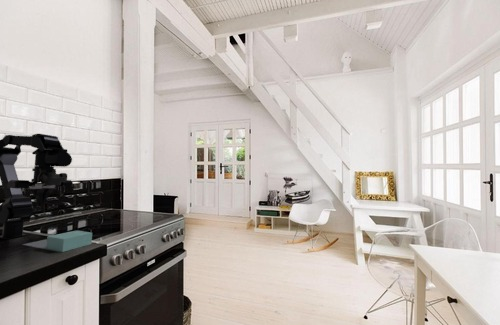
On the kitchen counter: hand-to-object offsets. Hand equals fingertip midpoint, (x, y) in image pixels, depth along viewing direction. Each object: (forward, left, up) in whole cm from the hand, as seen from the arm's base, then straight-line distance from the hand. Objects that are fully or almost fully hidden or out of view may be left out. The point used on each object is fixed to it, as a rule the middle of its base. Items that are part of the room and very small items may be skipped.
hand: (41, 206), depth 90 cm
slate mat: (+14, -2, -13) cm, 20 cm away
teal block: (+17, -2, -10) cm, 20 cm away
